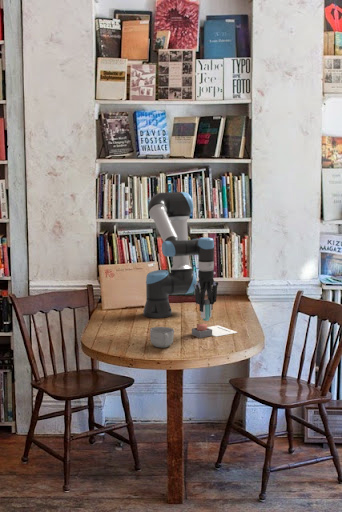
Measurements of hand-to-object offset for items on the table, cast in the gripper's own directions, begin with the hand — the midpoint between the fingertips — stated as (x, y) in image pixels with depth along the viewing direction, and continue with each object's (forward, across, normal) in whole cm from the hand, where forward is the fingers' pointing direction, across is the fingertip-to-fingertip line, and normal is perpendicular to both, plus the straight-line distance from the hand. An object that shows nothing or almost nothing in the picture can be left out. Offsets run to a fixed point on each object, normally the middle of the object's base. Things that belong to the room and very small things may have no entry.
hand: (206, 317), depth 360 cm
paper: (+7, +4, -4) cm, 9 cm away
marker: (+1, 0, 0) cm, 1 cm away
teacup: (+7, -32, -12) cm, 35 cm away
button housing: (+7, -6, -6) cm, 11 cm away
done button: (+5, -6, -6) cm, 10 cm away
